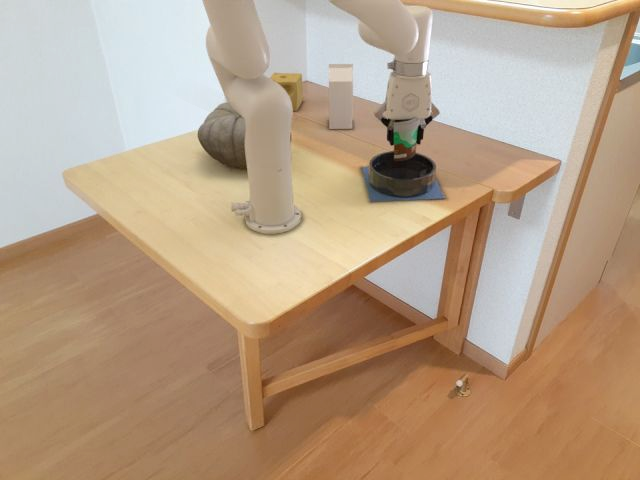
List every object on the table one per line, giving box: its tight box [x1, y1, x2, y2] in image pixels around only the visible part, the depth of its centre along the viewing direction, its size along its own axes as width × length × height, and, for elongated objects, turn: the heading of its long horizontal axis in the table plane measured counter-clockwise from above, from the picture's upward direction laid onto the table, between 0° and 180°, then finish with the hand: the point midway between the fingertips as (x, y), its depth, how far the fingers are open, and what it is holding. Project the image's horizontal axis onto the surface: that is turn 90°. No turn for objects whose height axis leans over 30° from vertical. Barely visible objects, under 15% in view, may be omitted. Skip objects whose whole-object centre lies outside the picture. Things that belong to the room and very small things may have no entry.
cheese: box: [269, 72, 304, 112], centre depth 174 cm, size 10×11×10 cm
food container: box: [393, 118, 421, 161], centre depth 123 cm, size 12×6×10 cm, turn 170°
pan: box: [368, 150, 437, 198], centre depth 129 cm, size 16×16×5 cm
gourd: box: [197, 101, 292, 170], centre depth 138 cm, size 25×25×17 cm
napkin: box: [360, 166, 446, 203], centre depth 130 cm, size 18×18×1 cm
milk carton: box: [328, 63, 354, 130], centre depth 156 cm, size 7×7×19 cm
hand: (404, 142), depth 124 cm, fingers closed on food container, 5 cm apart
